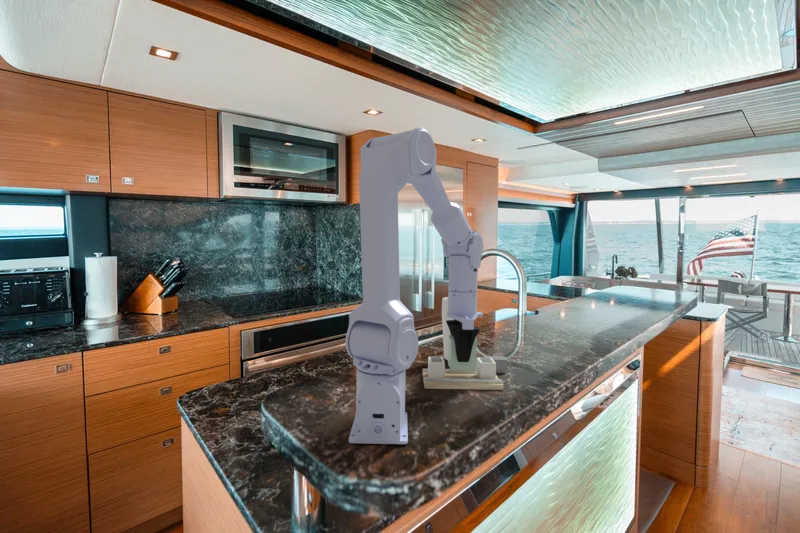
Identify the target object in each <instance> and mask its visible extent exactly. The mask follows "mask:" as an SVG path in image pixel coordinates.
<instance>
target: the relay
mask: <svg viewBox="0 0 800 533" xmlns="http://www.w3.org/2000/svg"><path fill="white" fill-rule="evenodd" d="M485 358H492V359H493V360H494V361H495V363H496V374H501V373H502V374H507V372H508V371H507V368H508V359H507V358H506V357H505V356H503V355H502V356H501V355H485Z"/></svg>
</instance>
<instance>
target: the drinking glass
mask: <svg viewBox="0 0 800 533" xmlns="http://www.w3.org/2000/svg"><path fill="white" fill-rule="evenodd" d="M441 300H442V301H441V324H442V325H441V326H442V340H443V343H442V344H443V359H444V361H447V362H448V335H451V334H450V330H449V327H448V325H447V323H446V320H454V319H452V318H449V317H447V312H448V296H445V297H442V299H441Z"/></svg>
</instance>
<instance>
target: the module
mask: <svg viewBox="0 0 800 533" xmlns="http://www.w3.org/2000/svg"><path fill="white" fill-rule="evenodd" d="M477 343H478V342H477V338H475V341H474V343H473V347H472V351H471V356H470V359H469V362H458V360H457V356H456V348H455V341H454V337H453V335H448V361H447V365H448V367H449V368H448V369H450V370H476V368H477V347H478V345H477Z"/></svg>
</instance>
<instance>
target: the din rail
mask: <svg viewBox="0 0 800 533" xmlns="http://www.w3.org/2000/svg"><path fill="white" fill-rule="evenodd" d="M423 372H428V368H422V373H423ZM445 373H476V370H450V368H445ZM424 382H458V383H503V382H504V381H503V379H502V378H499V379H465V378H424V381H423V383H424Z"/></svg>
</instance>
